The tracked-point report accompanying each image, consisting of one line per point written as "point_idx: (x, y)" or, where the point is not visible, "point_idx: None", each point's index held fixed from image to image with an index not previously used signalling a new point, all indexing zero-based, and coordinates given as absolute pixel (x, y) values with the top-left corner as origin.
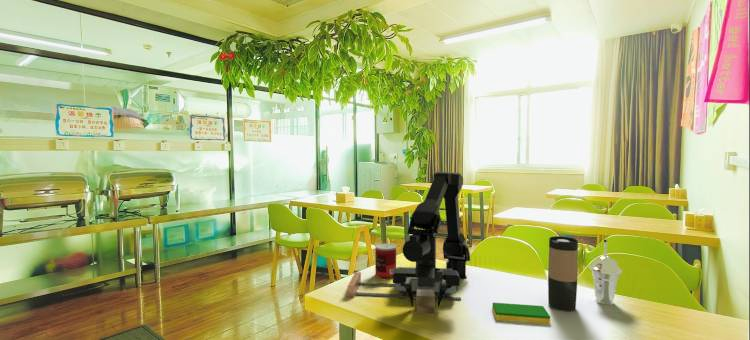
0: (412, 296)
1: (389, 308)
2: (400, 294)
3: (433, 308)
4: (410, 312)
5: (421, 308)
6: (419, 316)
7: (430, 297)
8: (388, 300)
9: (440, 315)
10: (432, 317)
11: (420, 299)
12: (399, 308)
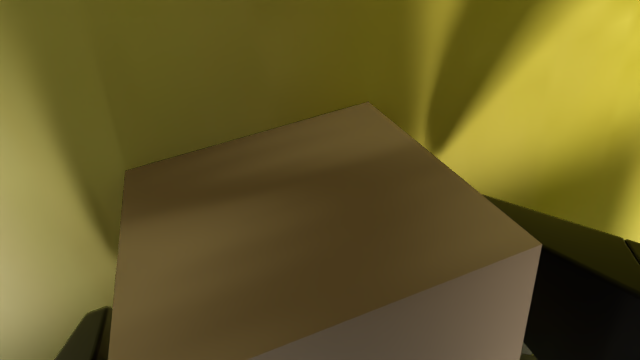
0: (549, 262)
1: (637, 96)
2: (527, 353)
3: (140, 209)
4: (440, 86)
5: (331, 145)
6: (318, 5)
7: (219, 348)
8: None
9: (11, 160)
10: (111, 41)
11: (419, 226)
12: (547, 136)
